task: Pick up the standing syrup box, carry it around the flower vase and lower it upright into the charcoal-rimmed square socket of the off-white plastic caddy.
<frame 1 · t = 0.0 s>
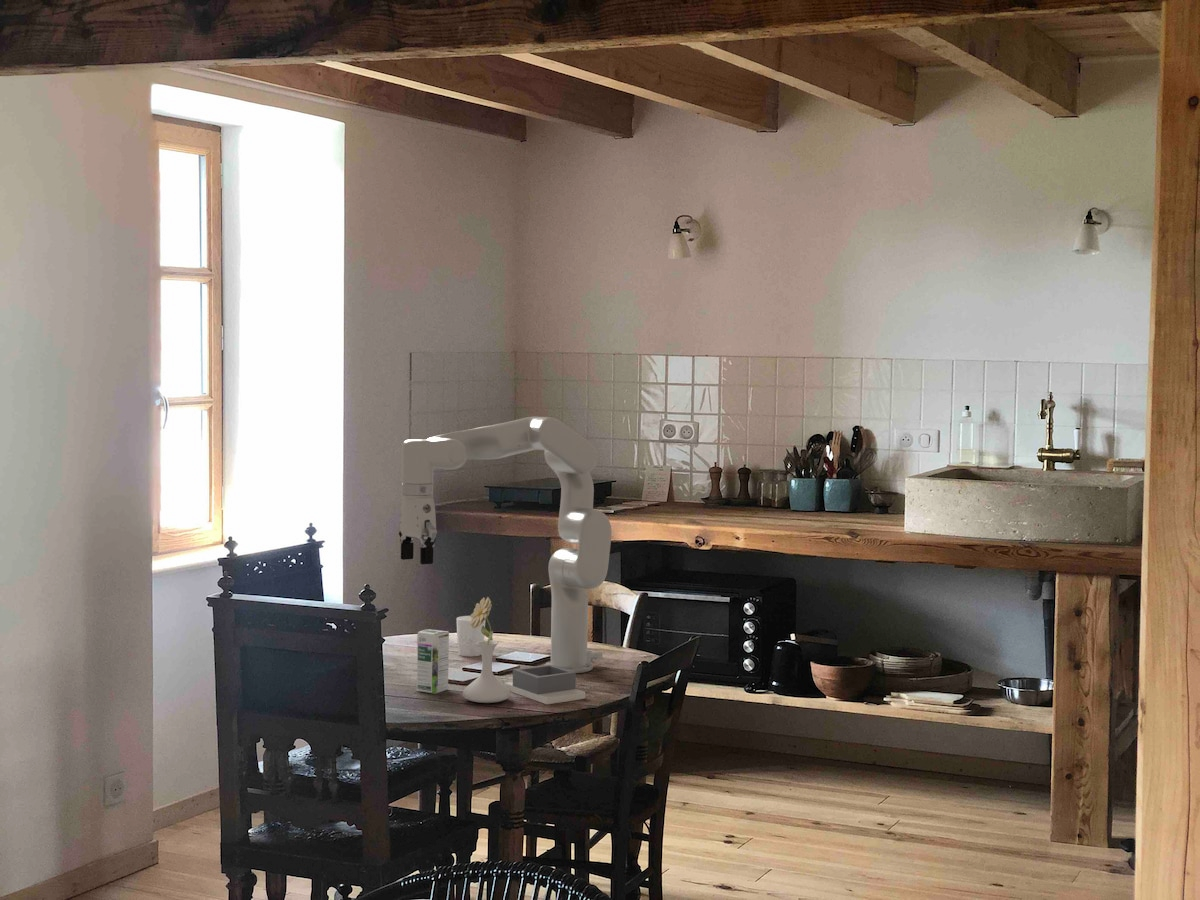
hand: (416, 561, 330), 31 cm above the table, fingers open, 9 cm apart
socket caddy: (543, 693, 330), on the table
syrup box: (432, 691, 331), on the table
flower in vase: (486, 702, 321), on the table
white cup: (470, 655, 375), on the table
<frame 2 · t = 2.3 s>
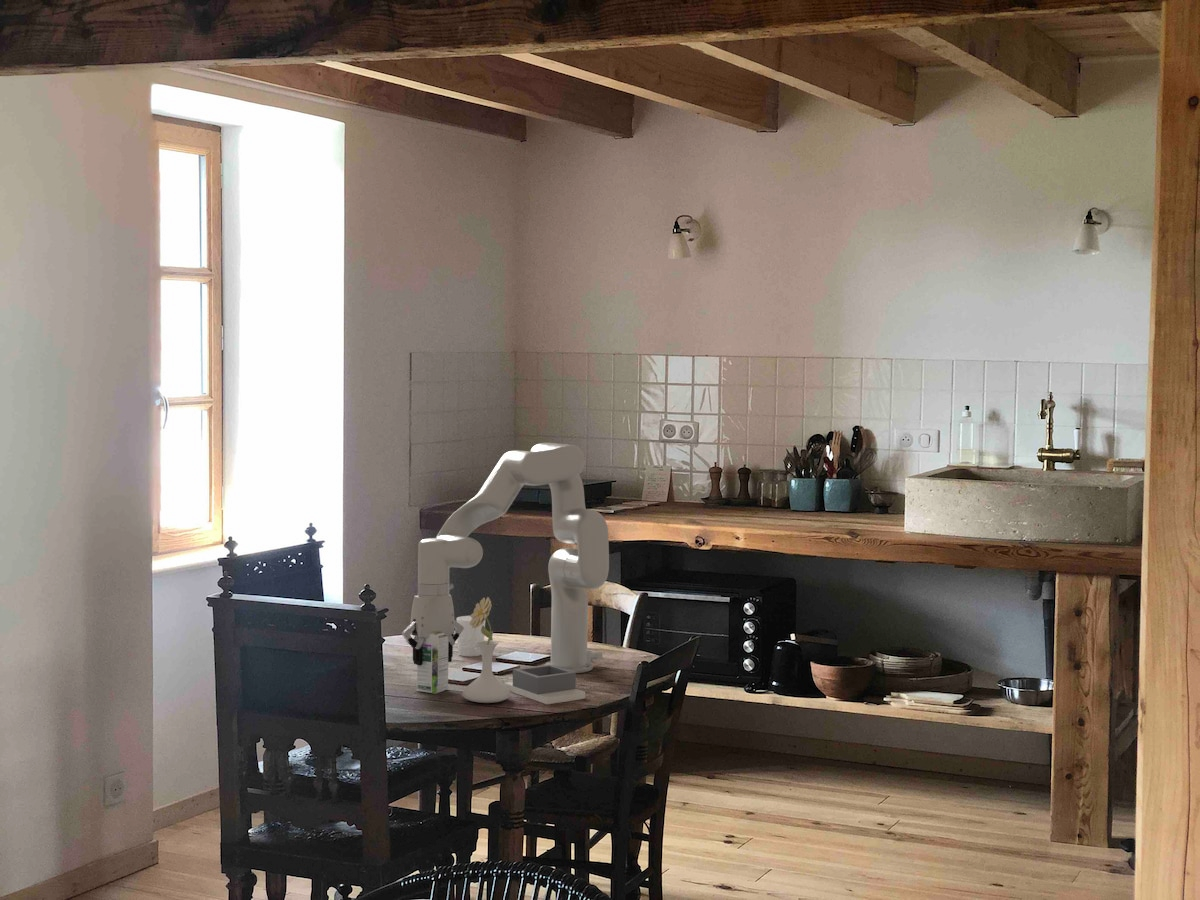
hand: (432, 662, 331), 7 cm above the table, fingers closed on syrup box, 7 cm apart
syrup box: (432, 691, 331), on the table, touching gripper
everything else where it was.
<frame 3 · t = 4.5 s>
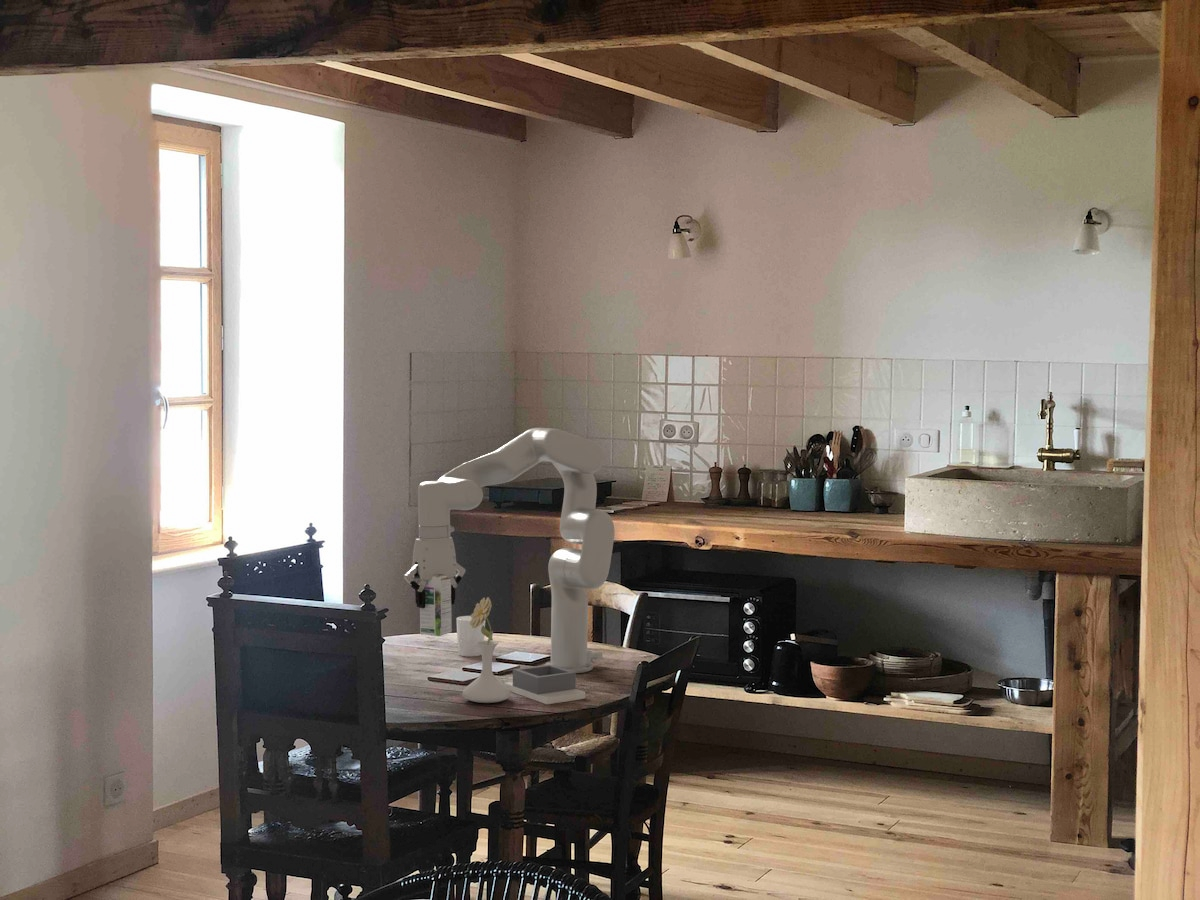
hand: (435, 605, 331), 21 cm above the table, fingers closed on syrup box, 7 cm apart
syrup box: (436, 634, 331), point 14 cm above the table, touching gripper
everything else where it was.
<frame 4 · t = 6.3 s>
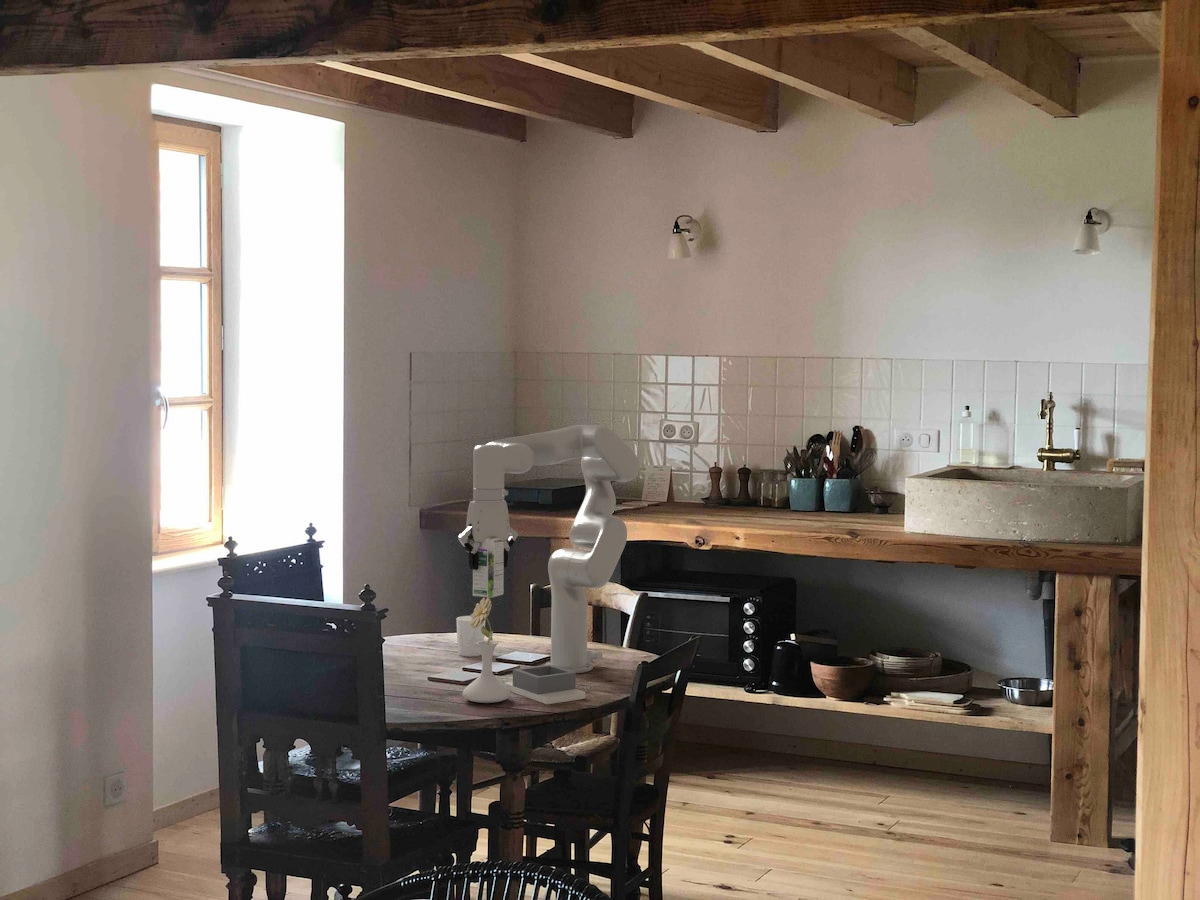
hand: (488, 567, 334), 30 cm above the table, fingers closed on syrup box, 7 cm apart
syrup box: (488, 596, 334), point 22 cm above the table, touching gripper
everything else where it was.
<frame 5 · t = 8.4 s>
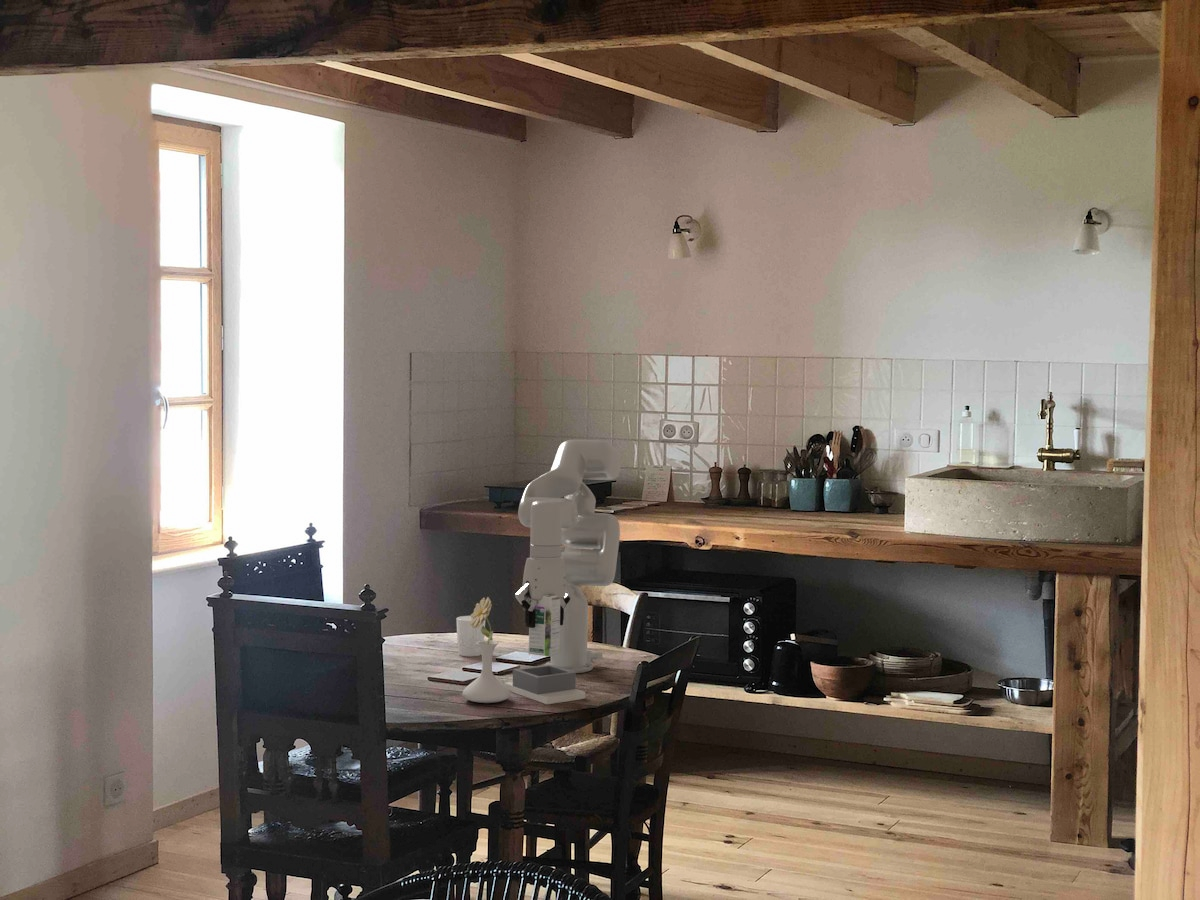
hand: (544, 625, 329), 17 cm above the table, fingers closed on syrup box, 7 cm apart
syrup box: (544, 654, 329), point 10 cm above the table, touching gripper
everything else where it was.
when the fingers open (9 cm above the table, at t = 10.2 s): syrup box stays where it is, resting on socket caddy.
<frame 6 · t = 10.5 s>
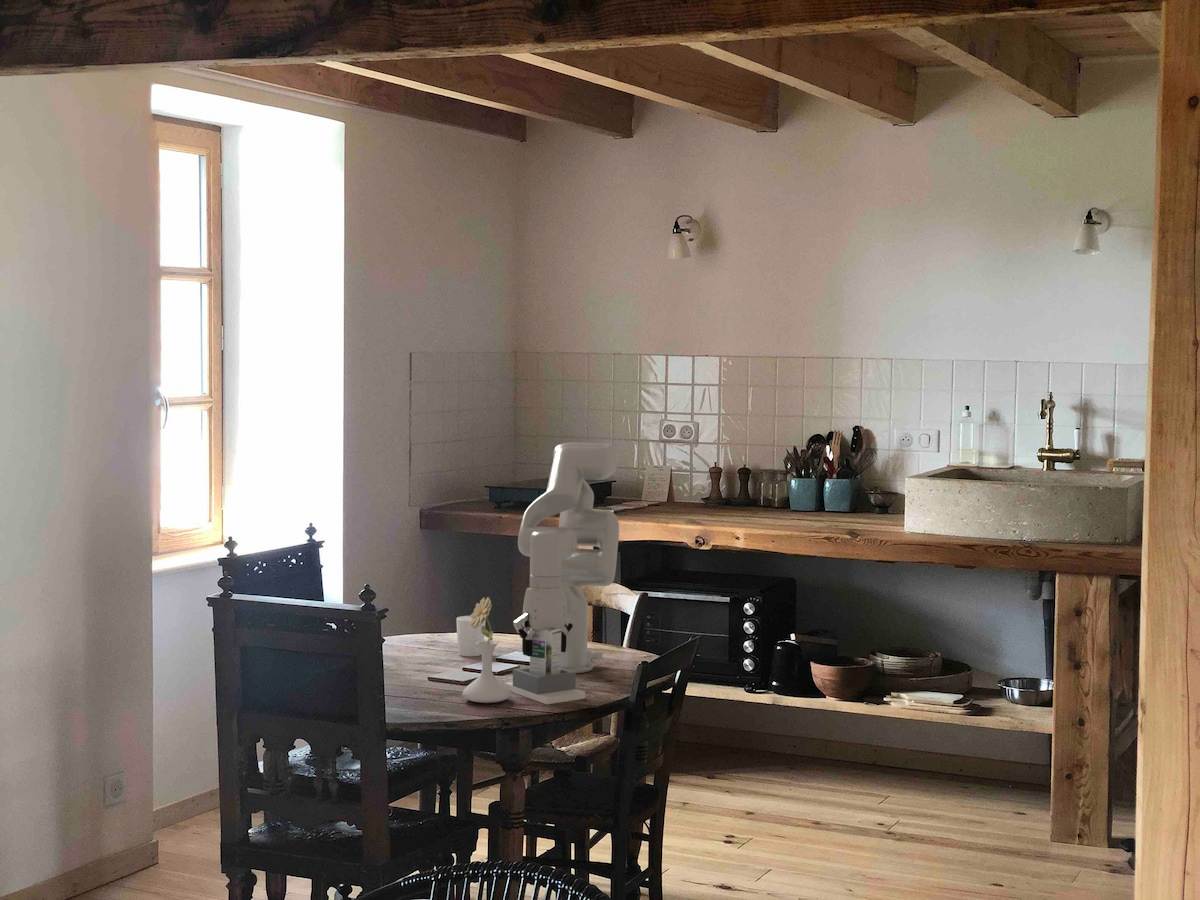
hand: (544, 653, 329), 10 cm above the table, fingers open, 9 cm apart
syrup box: (544, 688, 330), point 1 cm above the table, touching socket caddy
everything else where it was.
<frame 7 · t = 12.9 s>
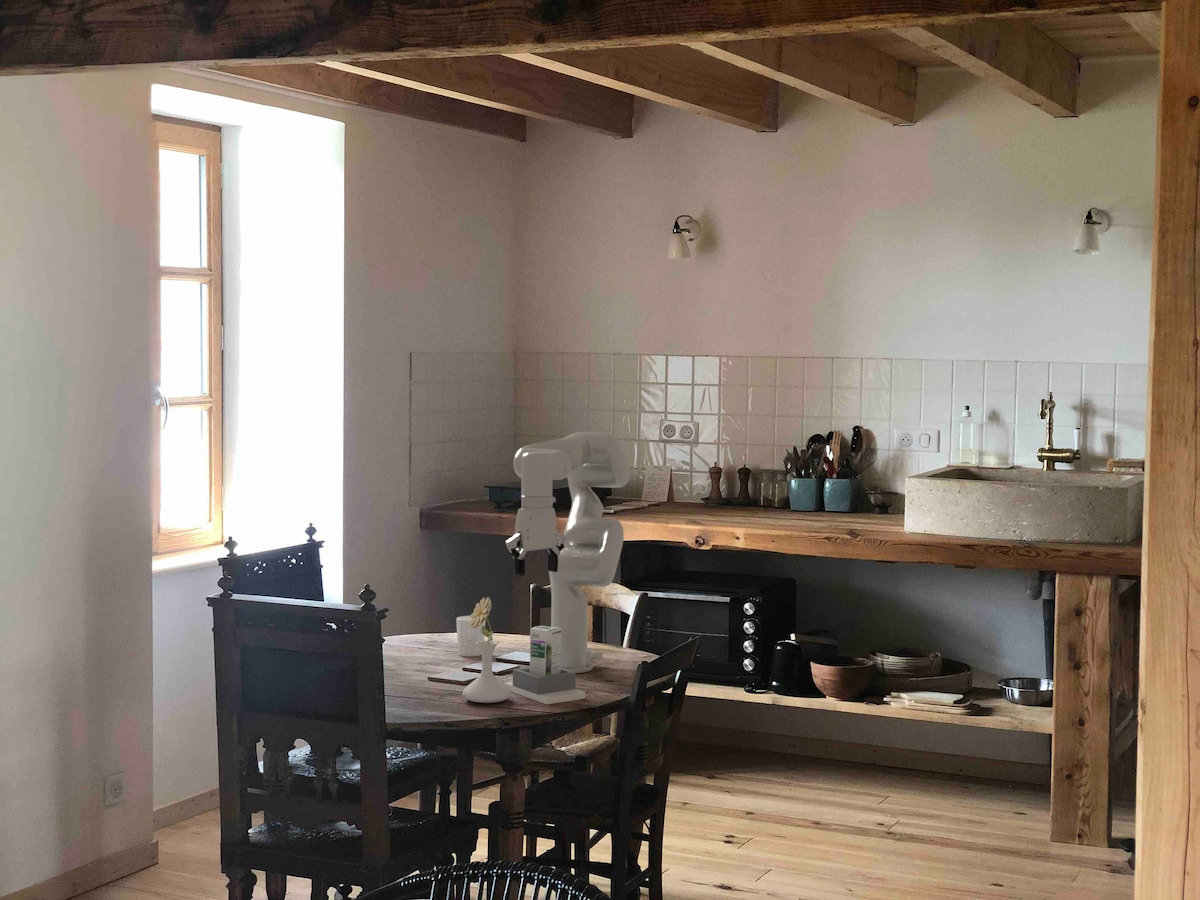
hand: (536, 573, 332), 29 cm above the table, fingers open, 9 cm apart
nothing on the table moved.
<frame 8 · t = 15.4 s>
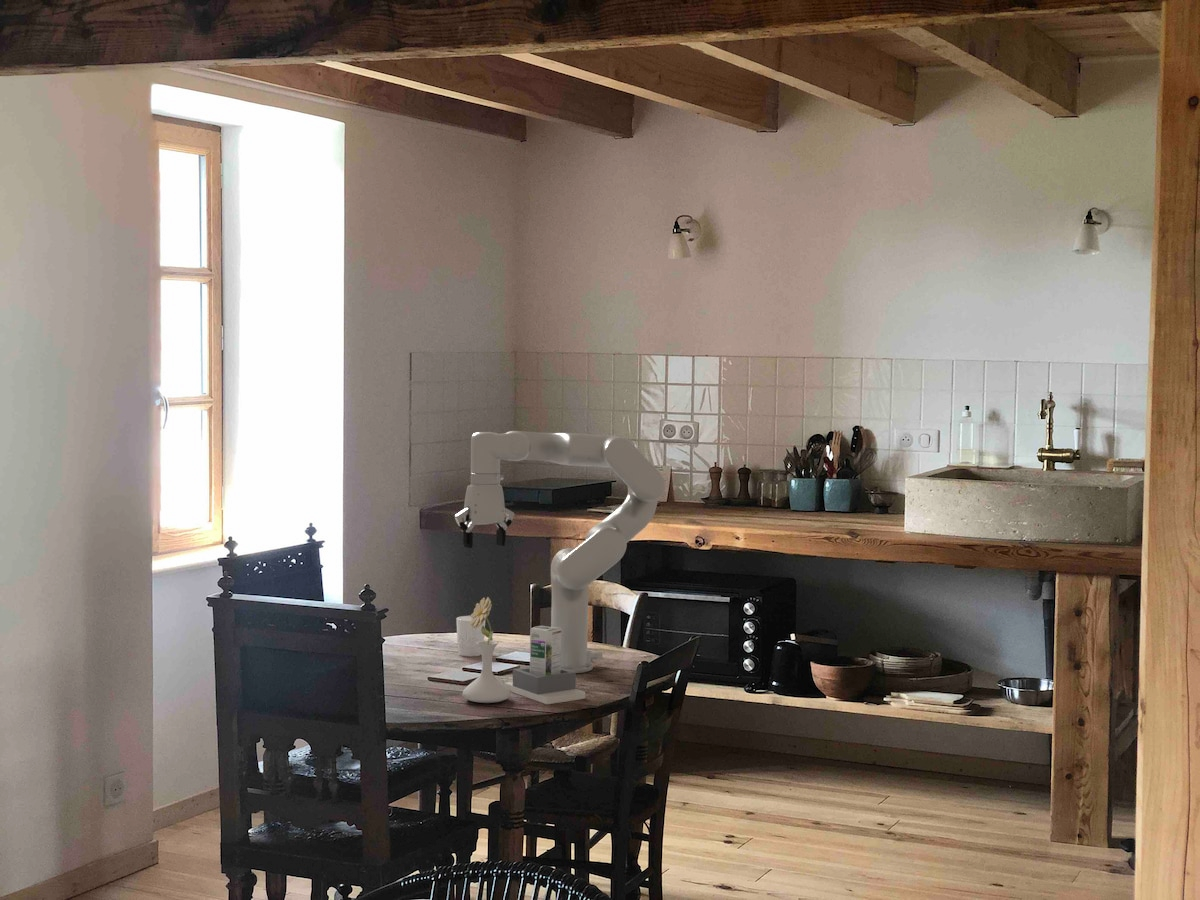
hand: (484, 546, 353), 32 cm above the table, fingers open, 9 cm apart
nothing on the table moved.
at the end: syrup box 0.3 cm off-centre on the socket caddy, point 1.3 cm above the socket caddy's base; syrup box tilted 0°; the gripper is holding nothing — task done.
